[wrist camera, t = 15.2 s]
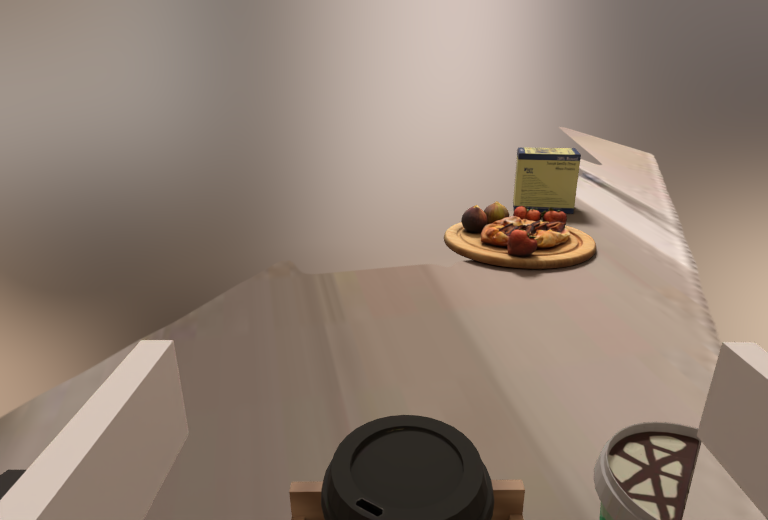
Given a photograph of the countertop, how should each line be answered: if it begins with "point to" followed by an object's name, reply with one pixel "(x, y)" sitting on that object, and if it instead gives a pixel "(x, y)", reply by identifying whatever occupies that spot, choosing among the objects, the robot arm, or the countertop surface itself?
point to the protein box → (546, 179)
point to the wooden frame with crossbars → (504, 516)
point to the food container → (646, 471)
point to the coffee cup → (407, 474)
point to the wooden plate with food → (519, 238)
